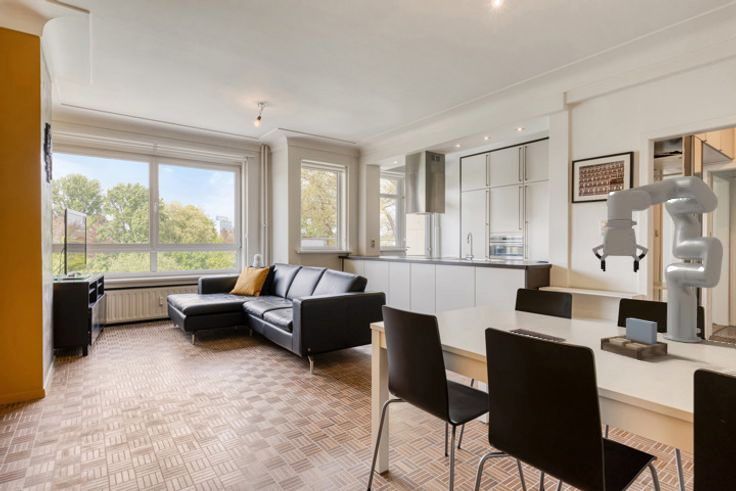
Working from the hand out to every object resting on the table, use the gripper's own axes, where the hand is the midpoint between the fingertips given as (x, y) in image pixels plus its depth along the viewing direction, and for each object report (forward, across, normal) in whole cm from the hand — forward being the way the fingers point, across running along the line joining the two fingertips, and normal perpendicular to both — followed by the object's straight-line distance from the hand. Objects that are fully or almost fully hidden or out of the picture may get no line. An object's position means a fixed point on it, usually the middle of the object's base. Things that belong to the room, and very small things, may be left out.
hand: (619, 271), depth 143 cm
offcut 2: (+29, -5, +5) cm, 30 cm away
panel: (+29, -7, -2) cm, 30 cm away
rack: (+30, -4, +1) cm, 30 cm away
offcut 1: (+29, 0, +1) cm, 29 cm away
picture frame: (+31, +31, -4) cm, 44 cm away
